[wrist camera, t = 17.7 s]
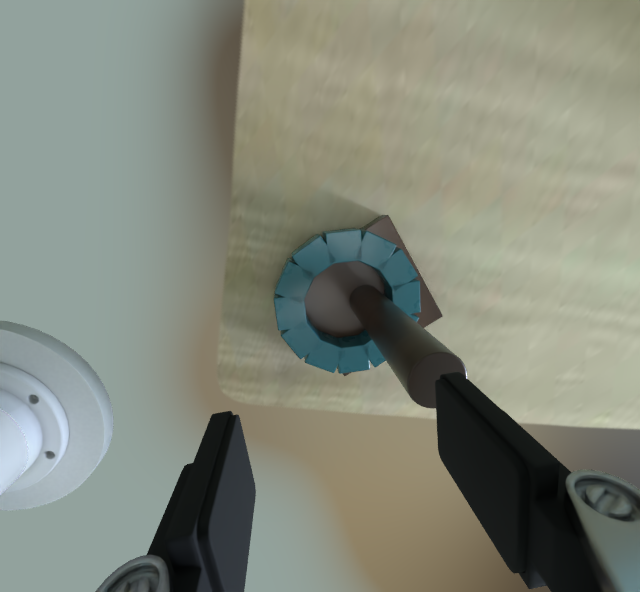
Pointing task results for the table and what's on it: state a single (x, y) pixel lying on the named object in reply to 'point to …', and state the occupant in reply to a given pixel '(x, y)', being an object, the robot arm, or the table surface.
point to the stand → (383, 319)
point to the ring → (313, 261)
